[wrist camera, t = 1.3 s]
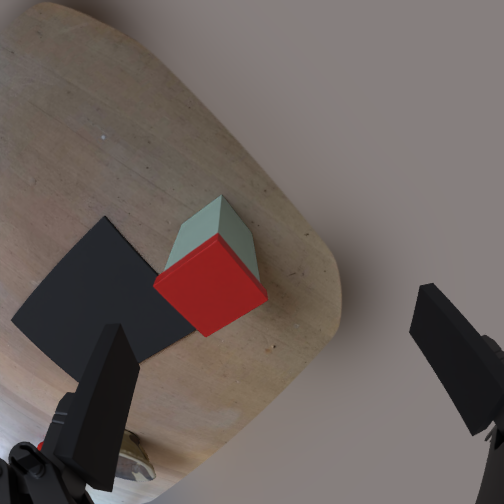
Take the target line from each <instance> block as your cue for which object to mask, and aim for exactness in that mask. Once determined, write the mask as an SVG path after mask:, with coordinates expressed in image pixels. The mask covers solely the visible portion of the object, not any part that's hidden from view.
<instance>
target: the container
mask: <svg viewBox="0 0 504 504" xmlns="http://www.w3.org/2000/svg"><path fill="white" fill-rule="evenodd" d="M153 287H154V288H155V289H156V290H157V291H158V292H159V293H160V294H161V295H162V296H163V297H164V298H165V299H166V300H167V301H168V302H169V303H170V304H171V305H172V306H173V307H174V308H175V309H176V310H177V311H178V312H179V313H180V314H181V315H182V316H183V317H184V318H185V319H186V320H187V321H188V322H190V323H191V324H192V325H193V326H194V327H195V328H196V329H197V330H198V331H199V332H200V333H201V334H202V335H203V336H204V337H207V336H209V335H211V334H213V333H214V332H216V331H218V330H219V329H221V328H223V327H224V326H226V325H228V324H230V323H231V322H233V321H235V320H236V319H238V318H240V317H241V316H243V315H245V314H246V313H248V312H250V311H251V310H253V309H255V308H256V307H258V306H259V305H261V304H263V303H264V302H266V301H268V296H267V291H266V289H265V288H264V287H263V286H262V284H261V283H260V278H259V272H258V266H257V260H256V254H255V248H254V242H253V237H252V233H251V231H250V230H249V229H248V228H247V226H246V225H245V224H244V222H243V221H242V220H241V219H240V217H239V216H238V215H237V213H236V212H235V211H234V210H233V208H232V207H231V206H230V205H229V203H228V202H227V201H226V199H225V198H224V197H223V196H222V195H220V196H219V197H218V198H216V199H215V200H214V201H212V202H211V203H210V204H208V205H207V206H206V207H204V208H203V209H201V210H200V211H199V212H197V213H196V214H195V215H193V216H192V217H191V218H190V219H188V220H187V221H186V222H184V223H183V224H182V225H181V228H180V230H179V233H178V235H177V238H176V240H175V243H174V246H173V248H172V251H171V253H170V256H169V259H168V261H167V264H166V266H165V269H164V272H163V273H161V274H160V275H159V276H157V277H156V280H155V282H154V285H153Z"/></svg>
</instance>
